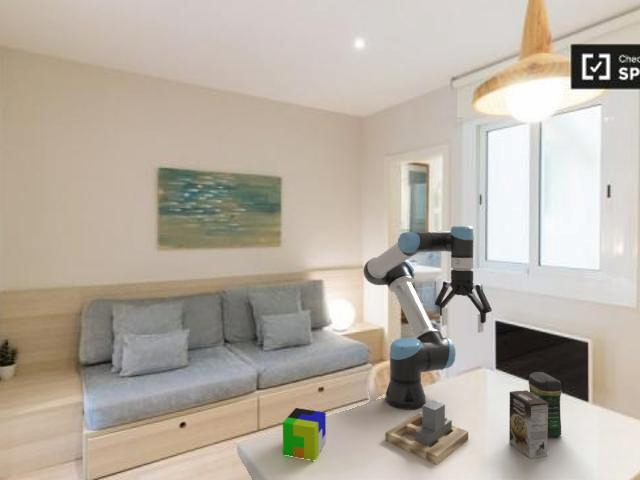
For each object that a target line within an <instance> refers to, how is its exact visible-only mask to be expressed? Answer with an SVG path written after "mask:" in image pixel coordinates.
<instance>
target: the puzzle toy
mask: <svg viewBox="0 0 640 480" xmlns="http://www.w3.org/2000/svg"><path fill="white" fill-rule="evenodd" d="M326 414H327V413H326V412H325V411H319V410H313V409H305V408H300V407H299V408H298V407H295V408H294V409H293V410H292V412H290V414H289V415H288V416H287V417H286V418H285V420H283V421H282V453H283V454H284V455H289V456H293V457H298V458H304V459H310V460H316V461H317V459H318V458H317V456H318V455H320V454H321V453H320V451H321V450H322V451H323V449H324V448H323V447H325V446H326V444H327V441H326V440H327V435H326V433H327V430H326V429H327V426H326ZM325 443H326V444H325ZM324 445H325V446H324ZM322 448H323V449H322ZM322 451H321V452H322ZM319 453H320V454H319ZM283 454H282V455H283ZM293 457H292V458H293ZM318 457H319V456H318ZM298 458H297V459H298ZM316 458H317V459H316ZM304 459H303V460H304Z"/></svg>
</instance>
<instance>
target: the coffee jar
mask: <svg viewBox="0 0 640 480" xmlns="http://www.w3.org/2000/svg"><path fill="white" fill-rule="evenodd" d="M528 387H529V388H528V389H529V392H530V393H532V394H534V395H536V396H537V397H539V398H541V399H543V400H544V401H546V402H548V434H547V438H550V439H555V438H558V437H561V435H562V421H561V418H562V417H561V395H562V391H563V390H562V383H561V381H560V380H558V379H556V378H555V377H553V376H551V375H549V374H547V373H545V372H543V371H541V372H540V371H538V372H537V371H535V372H534V371H533V372H531V373H530V374H529V378H528Z"/></svg>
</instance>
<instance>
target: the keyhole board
mask: <svg viewBox="0 0 640 480" xmlns="http://www.w3.org/2000/svg"><path fill="white" fill-rule="evenodd" d="M421 424H422V425H423V413H420V412H418V413H416V414H414V415H413V416H411V417H409V418H408V419H406V420H404V421H402V422H400V424H397V425H396V426H394V427H392V428H390V429H389V430H387V431H386V432H385V434H384V435H385V436H384V437H385V441H386V442H388V443H390V444H392V445H394V446H396V445H397V446H396V447H398V448H401V449H403V450H405V451H407V452H409V453H411V454H413V455H416V456H418V457H420V458H423V459H424V460H426V461H429V462H430V463H432V464H435V465H439V464H440V462H442V461H443V460H444V459H446V458H447V457H449V456H450V455H451V454H452V453H453V452H454V451H456V450H457V449H458V448H460V447H461V446H462V445H463V444H465V443H466V442H467V441H468V440H469V431H467V430H466V429H463V428H460V427H457V426H455V425H452V430H450V431H449V432H448V433H447V436H444V435H443V436H442V437H441V438H439V439H438V440H436V441H435V442H434V443H432V444H431V448H430V447H428V446H426V445H423V444H421V443H419V442H417V441H415V439H414V440H413V441H412V440H410V439H408V438H405V437H403V435H406V434H408V435H410V436H412V437H415V431H416V430H418V429H419V428H421V427H420V425H421Z"/></svg>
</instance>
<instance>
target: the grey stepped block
mask: <svg viewBox="0 0 640 480" xmlns="http://www.w3.org/2000/svg"><path fill="white" fill-rule="evenodd" d="M422 414H423V424H422V426H421V427H420V428H419V429H418V430H416V431H415V436H414V440H415V441H417V442H419V443H421V444H423V445H426V446H428V447H430V448H431V447H432V446H431V444H432V443H434V442H435V441H436V440H438V439H439V438H441V437H442V436H443V435H444V436H447V433H448V432H449V431H450V430H452V426H453V423H452V419H450V418H448V417H447V416H446V404H445V403H442V402H439V401H436V400H434V399H432V400H429V401H428V402H426V403H425V404H424V405H423V407H422Z"/></svg>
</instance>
